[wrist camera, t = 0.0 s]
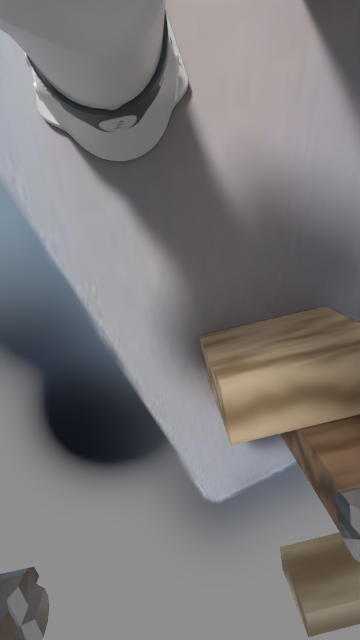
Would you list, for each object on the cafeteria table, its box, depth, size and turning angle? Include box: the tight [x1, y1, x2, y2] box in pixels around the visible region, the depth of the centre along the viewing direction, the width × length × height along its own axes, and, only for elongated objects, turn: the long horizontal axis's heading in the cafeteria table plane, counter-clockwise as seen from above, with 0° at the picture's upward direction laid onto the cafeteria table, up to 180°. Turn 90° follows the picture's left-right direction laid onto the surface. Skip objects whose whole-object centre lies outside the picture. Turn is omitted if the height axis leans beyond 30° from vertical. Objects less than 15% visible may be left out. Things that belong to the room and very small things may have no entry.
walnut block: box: [280, 414, 360, 531], centre depth 41 cm, size 8×17×26 cm, turn 102°
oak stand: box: [199, 306, 360, 445], centre depth 42 cm, size 9×22×17 cm, turn 102°
